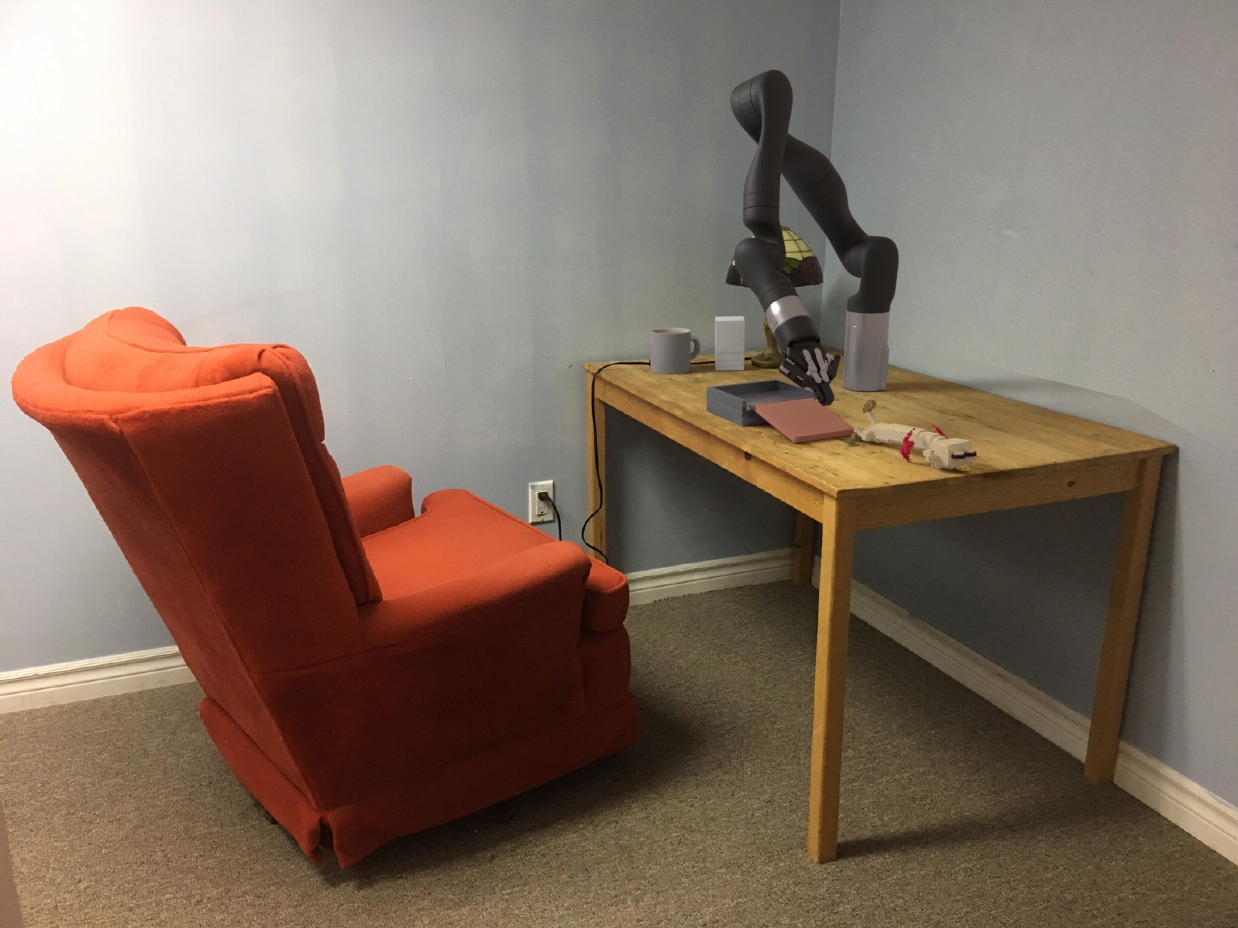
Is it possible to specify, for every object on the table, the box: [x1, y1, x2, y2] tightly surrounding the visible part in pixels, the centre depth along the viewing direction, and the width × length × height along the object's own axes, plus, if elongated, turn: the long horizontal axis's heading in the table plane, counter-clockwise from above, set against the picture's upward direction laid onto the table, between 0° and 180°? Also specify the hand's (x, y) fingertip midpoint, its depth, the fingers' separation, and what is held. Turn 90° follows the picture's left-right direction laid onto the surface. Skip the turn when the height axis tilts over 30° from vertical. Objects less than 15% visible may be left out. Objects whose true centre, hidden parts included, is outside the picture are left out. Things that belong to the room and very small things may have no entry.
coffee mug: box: [649, 327, 701, 376], centre depth 228 cm, size 13×10×10 cm
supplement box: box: [714, 315, 746, 371], centre depth 229 cm, size 7×7×13 cm
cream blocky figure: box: [850, 399, 978, 472], centre depth 155 cm, size 10×9×25 cm
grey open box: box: [706, 378, 817, 427], centre depth 185 cm, size 14×17×5 cm
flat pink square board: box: [750, 396, 855, 444], centre depth 172 cm, size 2×14×15 cm
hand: (828, 403), depth 164 cm, fingers closed
